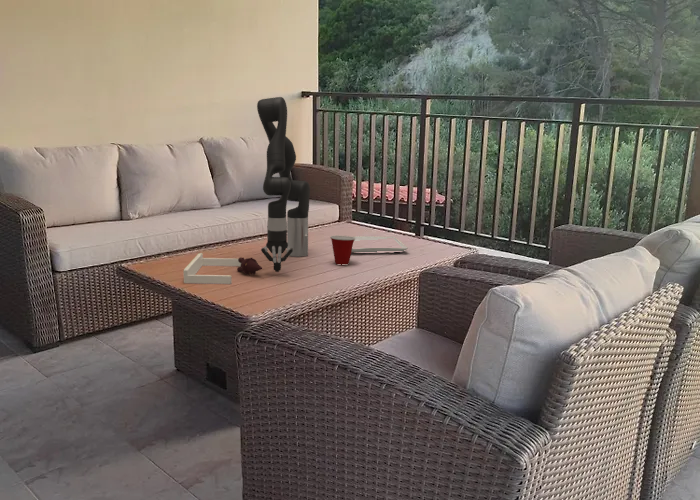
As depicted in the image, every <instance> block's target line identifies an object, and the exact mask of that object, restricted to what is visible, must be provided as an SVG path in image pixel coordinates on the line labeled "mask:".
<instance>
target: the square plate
mask: <svg viewBox="0 0 700 500" xmlns="http://www.w3.org/2000/svg"><path fill="white" fill-rule="evenodd" d="M354 237H355V238H356V239H355V240H354V241H360V240H378V239H387V238H394V240H395V241H396V242H397V243H398V244H399V245H400V246H401V247H402V248H360V249H353V248H352V252H351V253H354V252H377V251H404V250H406V251H407V250H408V248H409V247H407V246H406V244H404V243H403V242H402V241H400V240H399V239H398V238H397V237H396V236H381V235H380V236H379V235H377V236H373V235H371V236H370V235H369V236H368V235H362V236H360V235H359V236H358V235H357V236H354ZM404 252H405V251H404Z"/></svg>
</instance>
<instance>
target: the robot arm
mask: <svg viewBox="0 0 700 500" xmlns="http://www.w3.org/2000/svg"><path fill="white" fill-rule="evenodd" d="M256 110H257V114H258V117H259V119H260V122H261V125H262V127H263V129H264V133H265V134H266V137H267V140H268V146H267V149H266V173H265V177H264V181H263V186H262V190H263V192H264V194H265V195H266V196H272V197H273V196H280V198H279V199H278V200H273V201H270V202H268V205H267V225H266V229H267V230H266V233H267V236H266V237H267V242H266V244H265V245H264V247H261V249H260V251H261V253H262V254H263V255H264V256H265V258H266V259H267V260H268V261H269V262H272V263H273V271H274V272H275V273H279V272H280V271H281V270H282V262H285V261H286V260H287V259H288V258H289V256H290V257H296V258H299V257H308V255H309V212H310V198H311V197H310V196H311V187H310V184H309V182H307V181H306V180H296V179H295V180H294V179H292V175H291V172H292V170H293V168H294V166H295V164H296V161H297V155H296V151H295V148H294V144H293V142H292V140H291V139H289V138H288V137H287V136H286V135H287V126H288V125H287V124H288V106H287V102H286V100H285V99H284V97H282V96H276V97H270V98H269V97H267V98H262V99H259V100H258V101H257V104H256ZM275 122H277V126H276V125H275V124H274V123H275ZM275 174H279V176H274V175H275ZM288 201H289V202H296V203H298V205H297V206H296V207H294V208H290V209H288V210H287V205H288ZM269 251H270V253H271V254H272V255H271V254H270V253H269ZM285 251H286V253H285V254H284V255H283V257H282V254H283V253H284V252H285Z"/></svg>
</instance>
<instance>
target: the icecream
mask: <svg viewBox="0 0 700 500" xmlns="http://www.w3.org/2000/svg"><path fill="white" fill-rule="evenodd" d="M237 259H238V261H239V262H240V263H241V266H237V269H236V270H237V272H240V273H241V272H243V274H245V275H249V276H251V275H255V274H256V273H257V272H258V271H261V270H262V269H263V267H262V266H261V265H260V264H259V263H258V262H257V259H255V258H253V257H247V258H244V257H238V258H237Z"/></svg>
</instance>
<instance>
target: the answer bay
mask: <svg viewBox="0 0 700 500" xmlns="http://www.w3.org/2000/svg"><path fill="white" fill-rule="evenodd" d="M203 254H204V253H202V252H201V253H200V252H199V253H198V254H196V256H195V257H194V258H193V259H192V260H191V261H190V262H189V264H188V265H187V266H185V268H184V269H183V284H199V285H200V284H202V285H203V284H205V285H206V284H207V285H210V284H211V285H213V284H214V285H215V284H217V285H232V275H225V274H222V275H221V274H216V275H215V274H197V273H198V271H199V270H200V269H201V268H202V267H203V266H204V267H205V266H206V267H207V266H209V267H241V263H240V262H239V261H238V259H239V258H234V257H233V258H228V257H227V258H226V257H225V258H224V257H223V258H221V257H219V258H218V257H204V256H203Z"/></svg>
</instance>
